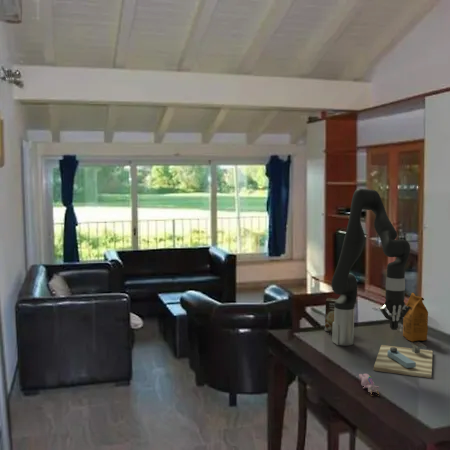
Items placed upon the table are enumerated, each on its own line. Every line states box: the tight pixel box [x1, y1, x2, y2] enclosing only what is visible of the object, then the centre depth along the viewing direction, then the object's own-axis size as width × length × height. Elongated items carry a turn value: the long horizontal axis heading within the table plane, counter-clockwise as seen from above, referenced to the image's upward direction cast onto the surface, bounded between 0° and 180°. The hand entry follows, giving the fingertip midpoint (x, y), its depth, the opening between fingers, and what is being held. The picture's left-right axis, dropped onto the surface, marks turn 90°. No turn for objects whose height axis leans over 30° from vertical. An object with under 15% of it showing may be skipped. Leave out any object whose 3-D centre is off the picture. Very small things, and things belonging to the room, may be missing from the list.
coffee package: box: [402, 292, 429, 342], centre depth 265 cm, size 10×12×22 cm
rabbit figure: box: [358, 373, 380, 395], centre depth 205 cm, size 6×6×15 cm
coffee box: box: [324, 297, 338, 333], centre depth 279 cm, size 9×6×16 cm
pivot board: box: [373, 344, 434, 379], centre depth 234 cm, size 30×22×6 cm
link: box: [387, 350, 416, 368], centre depth 230 cm, size 16×5×2 cm, turn 12°
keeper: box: [410, 341, 427, 353], centre depth 240 cm, size 4×6×4 cm, turn 12°
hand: (393, 329), depth 224 cm, fingers closed
